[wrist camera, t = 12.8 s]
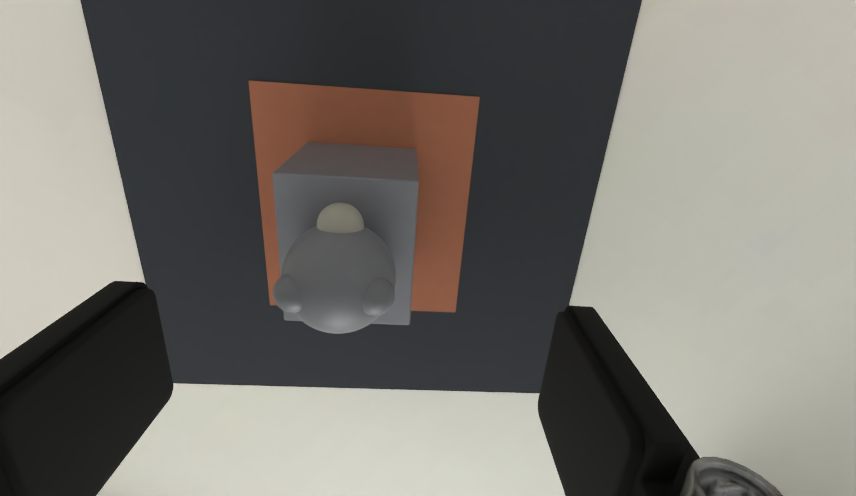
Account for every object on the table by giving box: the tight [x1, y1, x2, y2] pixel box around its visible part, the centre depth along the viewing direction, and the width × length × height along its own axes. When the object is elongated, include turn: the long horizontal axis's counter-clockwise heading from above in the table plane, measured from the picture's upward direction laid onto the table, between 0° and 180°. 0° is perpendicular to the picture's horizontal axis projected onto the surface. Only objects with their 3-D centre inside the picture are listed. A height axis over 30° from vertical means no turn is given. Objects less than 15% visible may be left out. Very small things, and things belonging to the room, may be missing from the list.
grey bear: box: [272, 142, 419, 334], centre depth 13 cm, size 4×5×7 cm
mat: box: [81, 0, 642, 393], centre depth 17 cm, size 18×18×1 cm
